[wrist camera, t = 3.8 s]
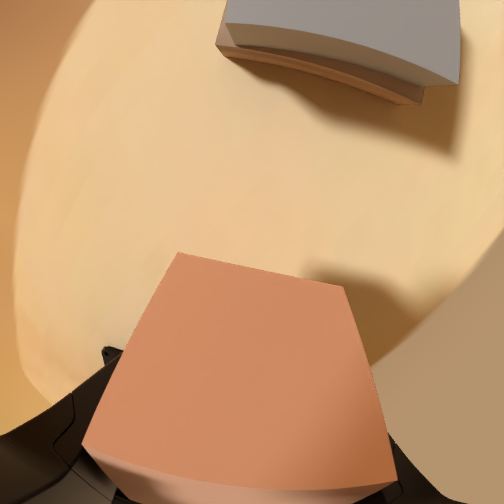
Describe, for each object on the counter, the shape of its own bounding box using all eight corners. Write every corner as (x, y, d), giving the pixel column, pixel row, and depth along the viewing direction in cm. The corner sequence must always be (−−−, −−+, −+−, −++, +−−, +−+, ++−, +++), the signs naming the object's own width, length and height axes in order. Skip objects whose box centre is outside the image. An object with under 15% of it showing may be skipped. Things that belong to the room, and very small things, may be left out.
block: (294, 384, 11) (298, 523, 5) (171, 361, 10) (130, 500, 5) (342, 286, 8) (397, 479, 3) (177, 252, 8) (81, 443, 3)
